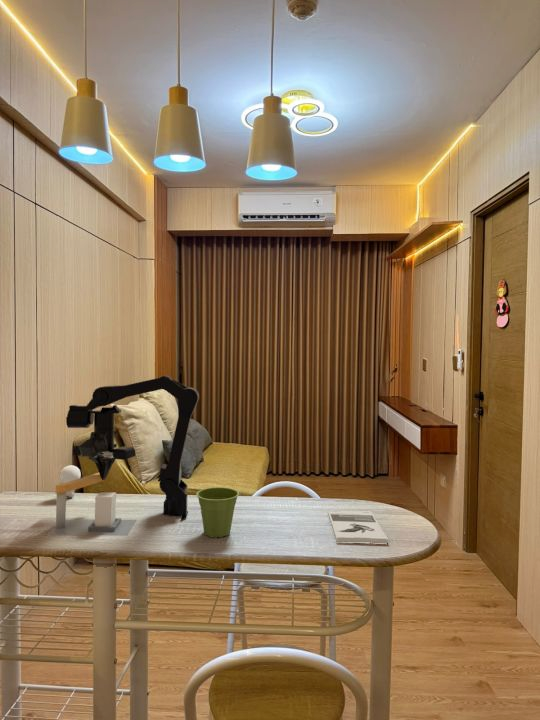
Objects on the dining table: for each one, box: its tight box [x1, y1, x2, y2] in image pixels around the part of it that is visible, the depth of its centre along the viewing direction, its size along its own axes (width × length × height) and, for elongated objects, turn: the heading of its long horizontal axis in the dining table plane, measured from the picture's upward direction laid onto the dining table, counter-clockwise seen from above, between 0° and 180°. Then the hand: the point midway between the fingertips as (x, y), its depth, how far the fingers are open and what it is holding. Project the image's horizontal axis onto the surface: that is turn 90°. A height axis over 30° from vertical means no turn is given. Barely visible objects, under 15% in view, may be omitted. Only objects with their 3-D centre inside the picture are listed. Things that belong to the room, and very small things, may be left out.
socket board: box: [46, 493, 138, 536], centre depth 130 cm, size 21×12×10 cm, turn 94°
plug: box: [94, 491, 117, 526], centre depth 130 cm, size 4×4×9 cm
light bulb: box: [59, 464, 82, 499], centre depth 159 cm, size 7×7×11 cm
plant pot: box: [195, 486, 240, 538], centre depth 130 cm, size 12×12×11 cm
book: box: [326, 509, 389, 544], centre depth 137 cm, size 23×14×2 cm, turn 179°
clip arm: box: [55, 472, 107, 495], centre depth 136 cm, size 18×3×2 cm, turn 158°
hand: (103, 479), depth 142 cm, fingers closed
